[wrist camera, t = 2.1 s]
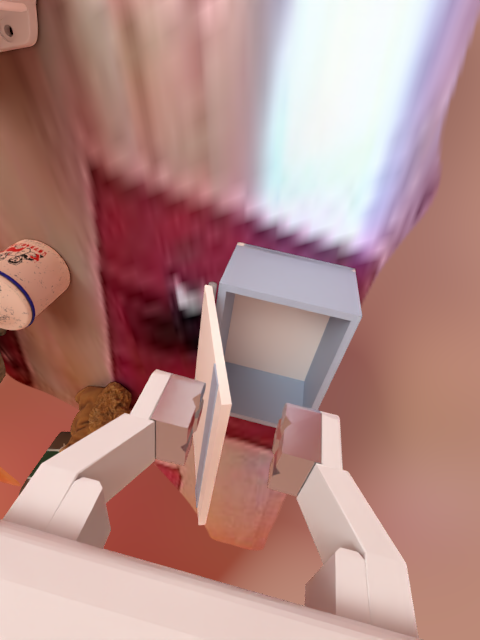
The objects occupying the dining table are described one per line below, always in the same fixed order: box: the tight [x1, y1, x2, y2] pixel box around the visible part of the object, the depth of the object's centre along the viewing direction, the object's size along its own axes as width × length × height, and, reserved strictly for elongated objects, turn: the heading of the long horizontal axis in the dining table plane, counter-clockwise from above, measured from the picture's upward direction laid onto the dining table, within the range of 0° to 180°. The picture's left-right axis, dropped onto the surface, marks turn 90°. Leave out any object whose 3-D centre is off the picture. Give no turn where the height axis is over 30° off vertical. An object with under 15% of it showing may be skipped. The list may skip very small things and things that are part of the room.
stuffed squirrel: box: [59, 382, 132, 453], centre depth 59 cm, size 10×14×13 cm
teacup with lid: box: [0, 239, 70, 330], centre depth 45 cm, size 12×9×12 cm
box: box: [216, 242, 362, 428], centre depth 43 cm, size 20×14×10 cm
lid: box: [193, 282, 232, 525], centre depth 34 cm, size 20×15×1 cm
